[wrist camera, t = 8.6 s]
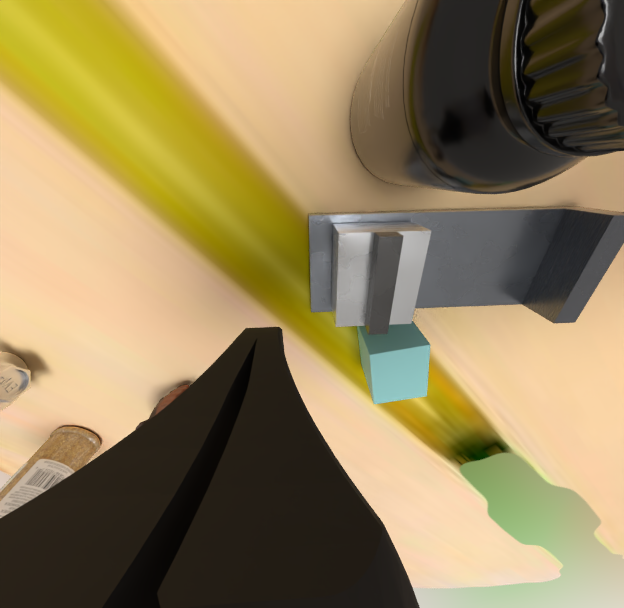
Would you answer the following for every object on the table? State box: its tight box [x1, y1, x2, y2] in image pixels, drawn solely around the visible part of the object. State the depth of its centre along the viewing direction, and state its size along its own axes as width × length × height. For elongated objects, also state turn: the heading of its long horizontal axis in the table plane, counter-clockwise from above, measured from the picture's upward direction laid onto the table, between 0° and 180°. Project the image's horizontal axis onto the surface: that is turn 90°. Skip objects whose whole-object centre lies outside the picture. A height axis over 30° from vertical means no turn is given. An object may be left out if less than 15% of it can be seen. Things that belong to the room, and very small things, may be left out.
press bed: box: [309, 207, 624, 323], centre depth 16 cm, size 18×7×4 cm, turn 91°
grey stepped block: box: [331, 222, 431, 335], centre depth 15 cm, size 5×6×4 cm
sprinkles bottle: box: [0, 427, 100, 518], centre depth 20 cm, size 5×5×13 cm
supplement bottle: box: [350, 0, 624, 194], centre depth 8 cm, size 7×7×12 cm
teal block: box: [357, 321, 430, 404], centre depth 19 cm, size 4×5×4 cm
